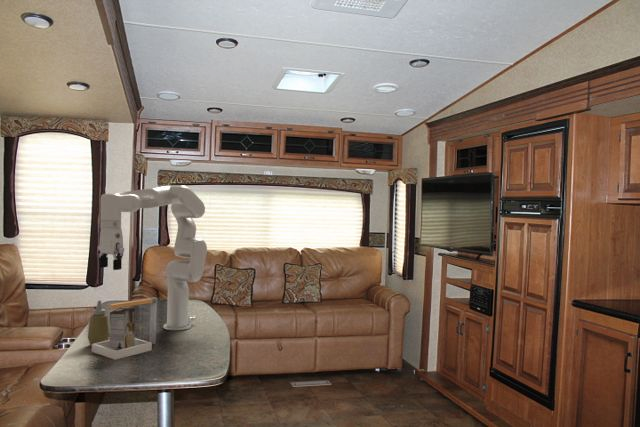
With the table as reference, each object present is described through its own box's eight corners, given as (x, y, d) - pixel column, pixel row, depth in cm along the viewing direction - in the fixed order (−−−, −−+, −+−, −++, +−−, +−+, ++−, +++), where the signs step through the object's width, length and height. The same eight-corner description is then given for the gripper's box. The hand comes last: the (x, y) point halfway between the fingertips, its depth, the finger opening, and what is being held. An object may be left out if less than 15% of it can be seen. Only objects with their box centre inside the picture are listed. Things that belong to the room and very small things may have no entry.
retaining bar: (154, 300, 205) (154, 297, 205) (159, 301, 203) (159, 298, 203) (108, 308, 188) (108, 304, 188) (113, 309, 186) (113, 305, 186)
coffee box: (118, 347, 196) (119, 307, 196) (134, 348, 196) (135, 307, 196) (108, 354, 187) (109, 312, 186) (125, 354, 186) (126, 312, 186)
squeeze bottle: (85, 348, 193) (86, 302, 193) (89, 343, 201) (90, 299, 201) (107, 347, 195) (108, 302, 195) (110, 342, 203) (111, 298, 203)
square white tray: (143, 339, 208) (144, 300, 208) (167, 346, 199) (168, 304, 199) (91, 351, 189) (92, 308, 189) (115, 359, 180) (116, 314, 180)
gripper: (132, 225, 191) (131, 269, 192) (107, 224, 202) (107, 265, 202) (114, 226, 185) (113, 271, 186) (90, 224, 196) (89, 267, 196)
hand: (110, 268), depth 194 cm, fingers open, 9 cm apart
